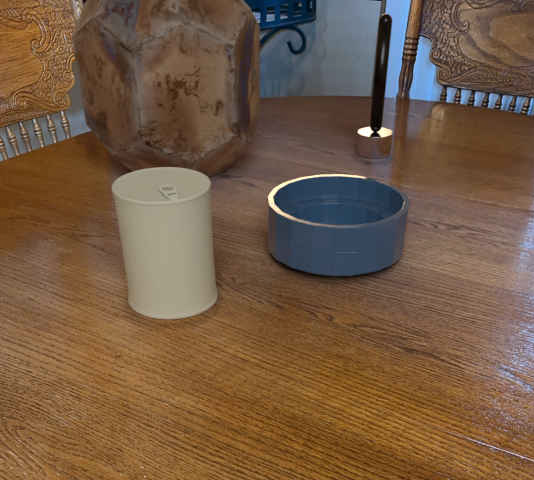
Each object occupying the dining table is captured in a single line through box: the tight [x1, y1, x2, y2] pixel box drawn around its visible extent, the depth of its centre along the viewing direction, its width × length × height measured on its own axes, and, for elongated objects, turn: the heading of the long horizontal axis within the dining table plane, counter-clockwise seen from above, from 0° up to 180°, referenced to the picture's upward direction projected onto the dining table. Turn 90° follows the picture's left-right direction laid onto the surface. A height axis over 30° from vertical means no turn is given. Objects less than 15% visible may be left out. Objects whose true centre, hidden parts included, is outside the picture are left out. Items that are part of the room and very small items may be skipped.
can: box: [111, 167, 219, 320], centre depth 68 cm, size 9×9×12 cm
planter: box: [71, 0, 261, 178], centre depth 93 cm, size 22×24×24 cm
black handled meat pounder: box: [355, 13, 394, 160], centre depth 100 cm, size 5×5×18 cm
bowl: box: [266, 173, 411, 277], centre depth 78 cm, size 15×15×6 cm
